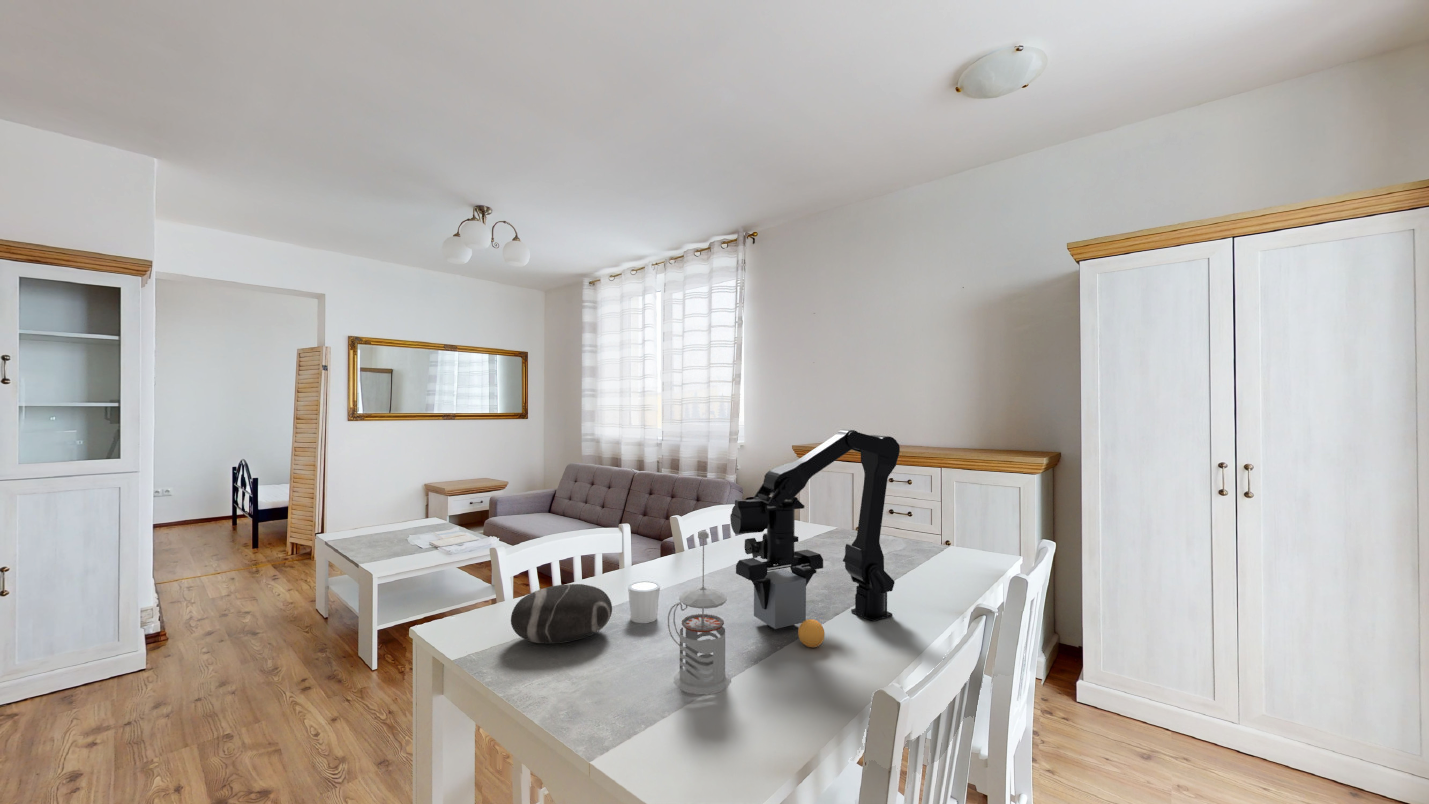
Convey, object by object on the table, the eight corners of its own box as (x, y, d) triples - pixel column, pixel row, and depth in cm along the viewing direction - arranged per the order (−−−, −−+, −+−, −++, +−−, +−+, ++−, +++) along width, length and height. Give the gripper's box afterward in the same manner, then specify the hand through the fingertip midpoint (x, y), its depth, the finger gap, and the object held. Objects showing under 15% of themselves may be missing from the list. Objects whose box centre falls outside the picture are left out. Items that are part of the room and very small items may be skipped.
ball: (833, 634, 106) (823, 650, 108) (820, 612, 109) (810, 627, 112) (811, 638, 103) (802, 655, 106) (799, 615, 107) (790, 632, 109)
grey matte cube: (783, 609, 122) (783, 569, 122) (805, 621, 115) (806, 579, 115) (753, 615, 118) (754, 574, 118) (775, 629, 112) (775, 584, 112)
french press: (711, 700, 88) (712, 540, 88) (652, 680, 94) (653, 531, 94) (742, 675, 96) (743, 528, 96) (686, 658, 102) (687, 521, 102)
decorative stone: (513, 662, 100) (513, 606, 100) (508, 632, 113) (508, 582, 113) (619, 644, 108) (620, 592, 108) (603, 618, 121) (603, 571, 121)
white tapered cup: (654, 625, 117) (654, 592, 117) (623, 622, 118) (623, 589, 118) (663, 613, 124) (664, 581, 124) (634, 611, 125) (634, 579, 125)
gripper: (793, 519, 128) (792, 587, 128) (722, 527, 119) (722, 601, 119) (825, 528, 119) (824, 602, 119) (751, 538, 109) (750, 618, 109)
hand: (780, 605), depth 117 cm, fingers closed on grey matte cube, 8 cm apart
